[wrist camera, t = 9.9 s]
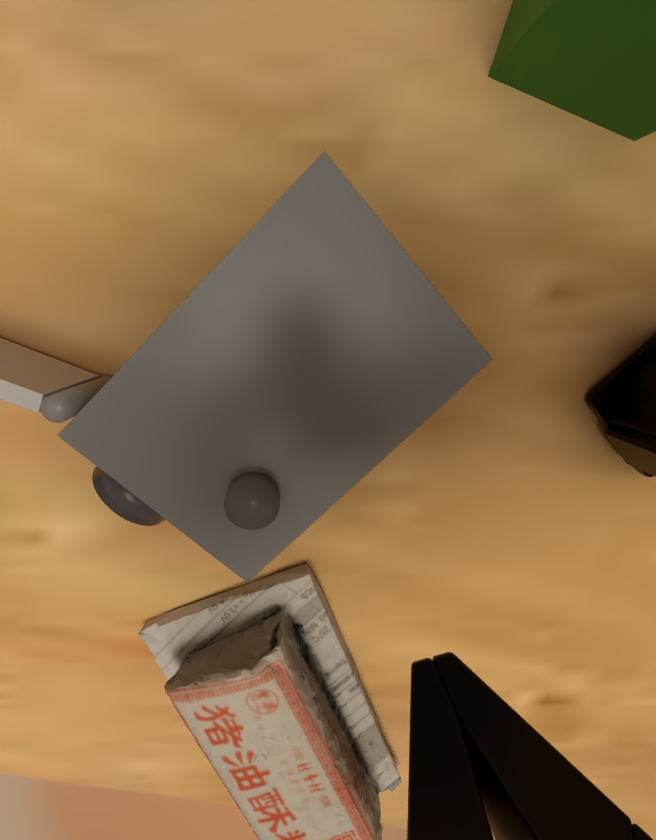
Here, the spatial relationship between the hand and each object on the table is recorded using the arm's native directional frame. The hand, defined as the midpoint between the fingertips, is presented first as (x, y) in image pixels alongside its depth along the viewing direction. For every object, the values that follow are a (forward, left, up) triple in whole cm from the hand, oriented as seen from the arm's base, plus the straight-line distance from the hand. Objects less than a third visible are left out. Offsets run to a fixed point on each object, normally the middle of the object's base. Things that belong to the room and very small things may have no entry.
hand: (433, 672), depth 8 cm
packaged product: (+14, +10, -14) cm, 22 cm away
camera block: (-1, -5, -13) cm, 14 cm away
